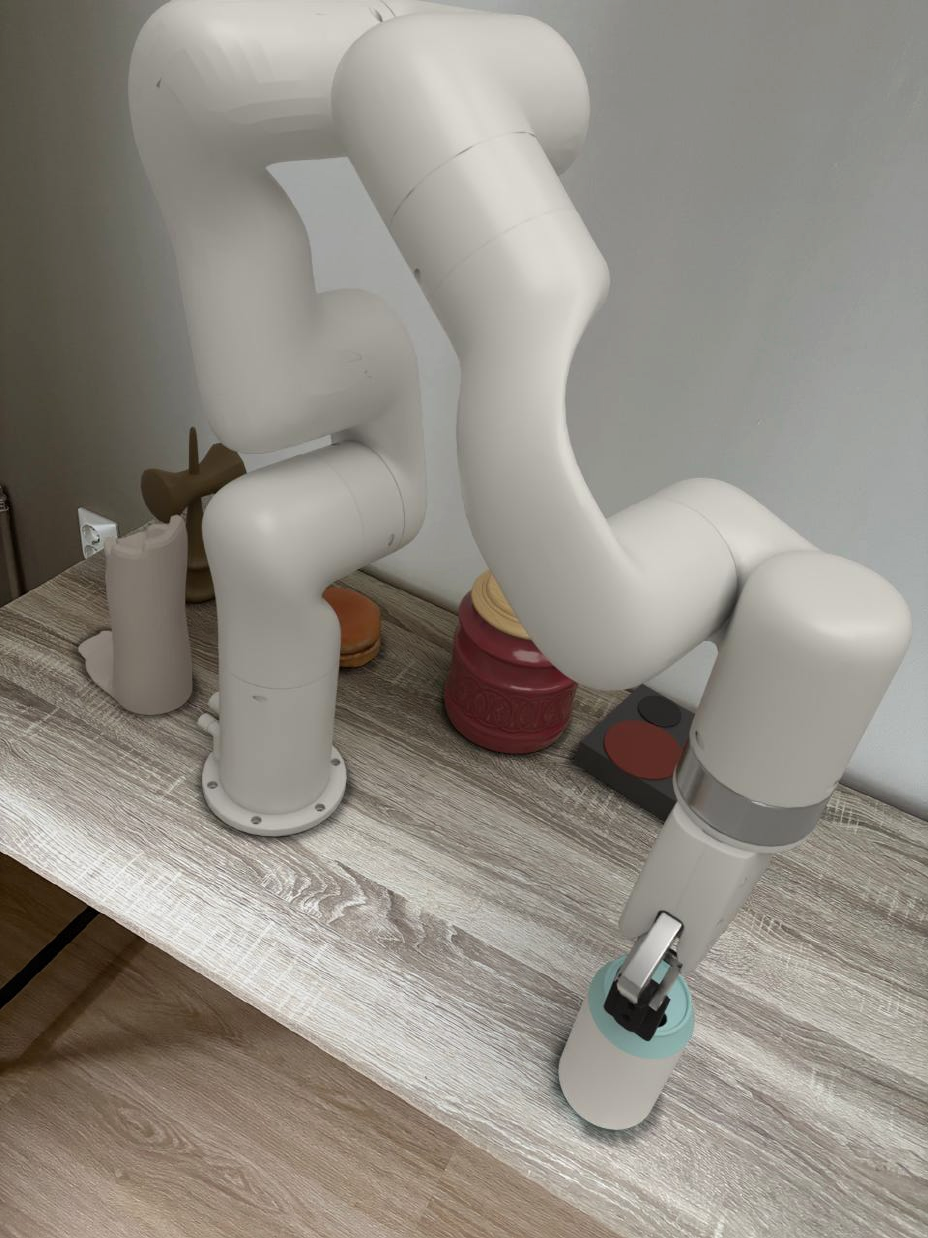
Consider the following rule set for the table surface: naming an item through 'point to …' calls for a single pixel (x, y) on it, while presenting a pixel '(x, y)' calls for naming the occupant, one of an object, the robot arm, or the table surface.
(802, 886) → the table surface
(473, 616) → the kitchen canister
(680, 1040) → the can
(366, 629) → the burger
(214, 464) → the kendama
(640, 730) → the burners
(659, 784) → the stove
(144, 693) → the candle
